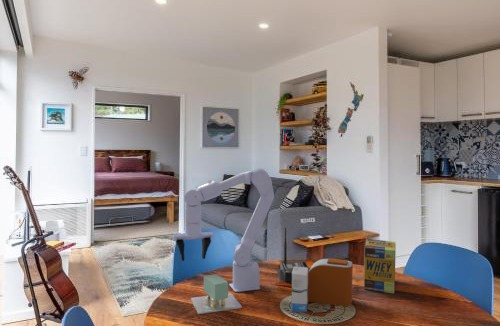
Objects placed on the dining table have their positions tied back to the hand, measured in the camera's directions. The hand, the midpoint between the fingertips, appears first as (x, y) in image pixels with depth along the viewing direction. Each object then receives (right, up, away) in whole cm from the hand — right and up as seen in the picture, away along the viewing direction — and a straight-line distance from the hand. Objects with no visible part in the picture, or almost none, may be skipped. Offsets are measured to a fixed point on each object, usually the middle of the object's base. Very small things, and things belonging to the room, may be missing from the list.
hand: (193, 259), depth 135 cm
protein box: (+70, -11, +4) cm, 71 cm away
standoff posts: (+10, -11, -14) cm, 20 cm away
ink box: (+37, -11, -16) cm, 42 cm away
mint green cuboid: (+9, -8, -14) cm, 19 cm away
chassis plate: (+10, -11, -14) cm, 20 cm away
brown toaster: (+47, -11, -10) cm, 50 cm away
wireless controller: (+39, -11, +16) cm, 44 cm away
